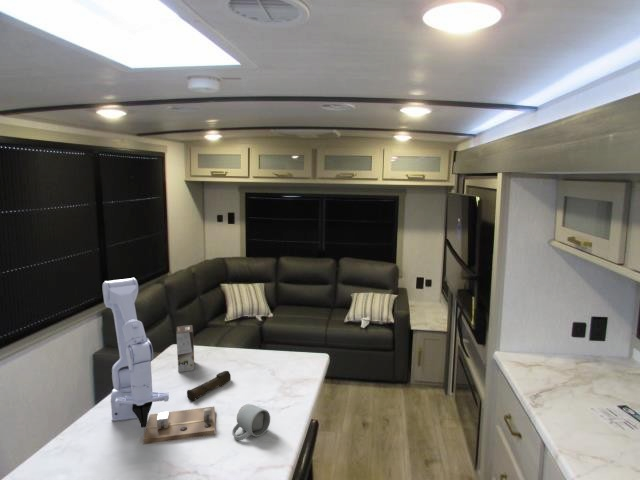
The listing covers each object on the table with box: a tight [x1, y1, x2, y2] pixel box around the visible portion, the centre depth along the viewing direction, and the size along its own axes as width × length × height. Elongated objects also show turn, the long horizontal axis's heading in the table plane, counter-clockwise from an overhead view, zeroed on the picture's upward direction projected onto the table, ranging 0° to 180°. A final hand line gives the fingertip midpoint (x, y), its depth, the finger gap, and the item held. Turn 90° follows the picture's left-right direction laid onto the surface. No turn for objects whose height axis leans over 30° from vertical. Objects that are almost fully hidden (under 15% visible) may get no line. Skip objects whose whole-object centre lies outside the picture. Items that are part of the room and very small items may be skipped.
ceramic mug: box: [231, 403, 271, 441], centre depth 129 cm, size 11×8×8 cm
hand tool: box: [186, 370, 232, 402], centre depth 155 cm, size 19×4×5 cm, turn 143°
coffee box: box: [175, 324, 195, 373], centre depth 174 cm, size 9×6×16 cm
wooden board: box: [142, 406, 216, 446], centre depth 132 cm, size 20×14×5 cm
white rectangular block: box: [157, 411, 170, 429], centre depth 130 cm, size 3×5×3 cm, turn 14°
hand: (144, 425), depth 129 cm, fingers closed
